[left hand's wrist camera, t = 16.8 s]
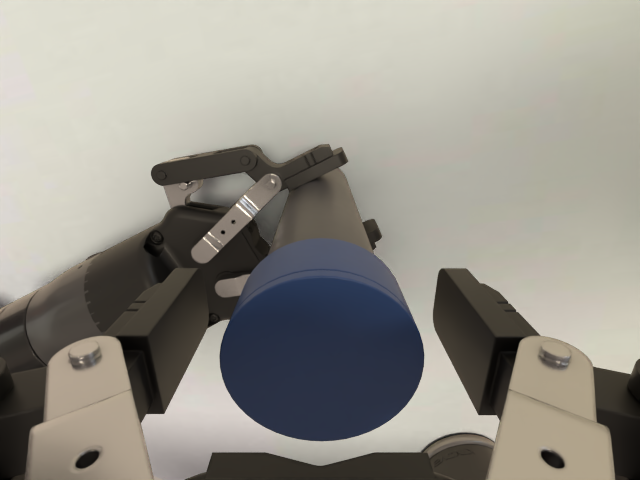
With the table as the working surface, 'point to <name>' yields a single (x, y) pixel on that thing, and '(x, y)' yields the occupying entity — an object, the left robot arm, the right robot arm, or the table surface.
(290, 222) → the dark grey capped cylinder
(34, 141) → the table surface
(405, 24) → the table surface
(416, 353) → the lid
